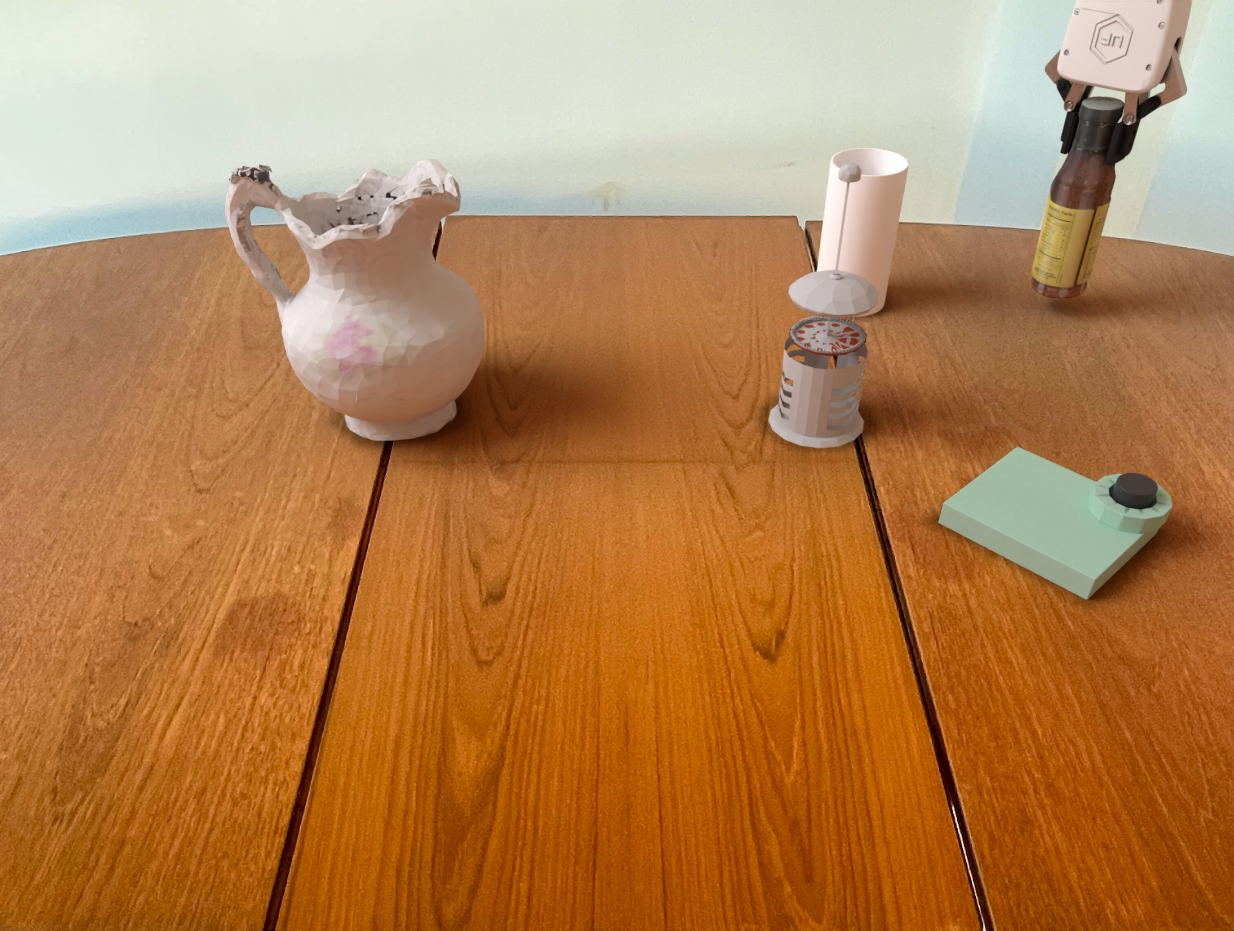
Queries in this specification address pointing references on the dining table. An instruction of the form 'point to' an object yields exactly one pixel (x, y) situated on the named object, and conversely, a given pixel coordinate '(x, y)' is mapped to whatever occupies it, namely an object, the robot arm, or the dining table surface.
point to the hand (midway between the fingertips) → (1092, 154)
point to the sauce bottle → (1077, 204)
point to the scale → (1053, 520)
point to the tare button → (1134, 491)
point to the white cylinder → (864, 216)
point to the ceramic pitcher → (370, 297)
